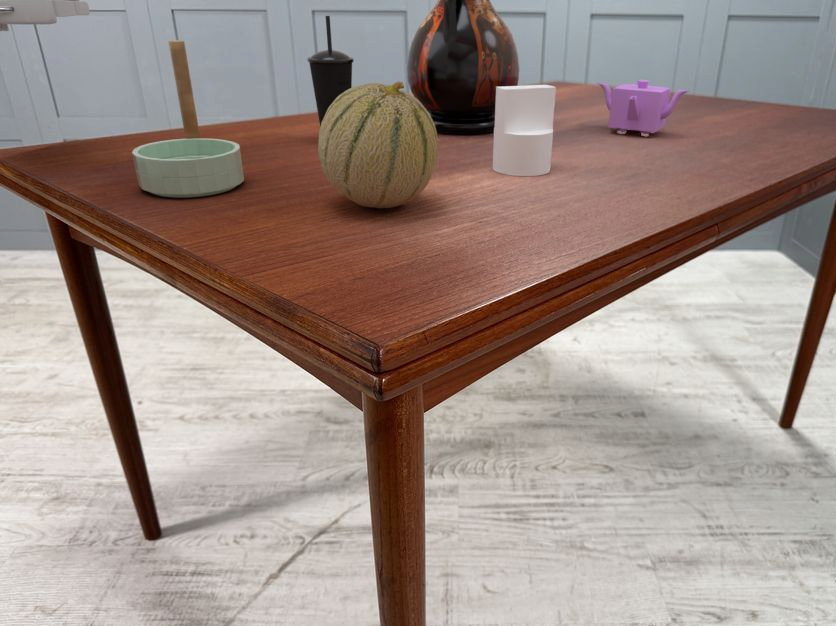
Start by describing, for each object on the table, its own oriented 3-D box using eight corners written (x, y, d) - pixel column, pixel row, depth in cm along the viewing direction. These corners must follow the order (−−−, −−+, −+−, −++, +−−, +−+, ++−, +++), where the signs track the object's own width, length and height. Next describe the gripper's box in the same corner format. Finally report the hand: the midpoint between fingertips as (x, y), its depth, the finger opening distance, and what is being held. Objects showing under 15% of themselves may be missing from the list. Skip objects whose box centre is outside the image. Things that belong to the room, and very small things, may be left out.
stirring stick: (185, 144, 114) (167, 41, 106) (186, 141, 116) (168, 40, 108) (200, 143, 115) (183, 41, 107) (201, 140, 117) (184, 40, 109)
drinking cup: (336, 135, 123) (328, 14, 114) (366, 141, 119) (360, 16, 110) (305, 141, 118) (293, 15, 108) (336, 148, 114) (327, 17, 104)
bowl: (135, 202, 84) (126, 162, 82) (145, 176, 95) (138, 140, 93) (246, 195, 88) (240, 157, 85) (243, 171, 99) (238, 136, 96)
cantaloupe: (329, 189, 91) (319, 71, 84) (436, 189, 92) (436, 73, 85) (315, 223, 78) (303, 88, 71) (440, 223, 79) (440, 89, 72)
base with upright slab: (509, 178, 99) (514, 92, 93) (482, 164, 106) (485, 84, 100) (561, 173, 102) (568, 90, 96) (531, 160, 109) (537, 82, 103)
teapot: (580, 133, 130) (586, 80, 125) (600, 123, 140) (606, 73, 135) (674, 144, 123) (683, 88, 118) (687, 133, 133) (697, 80, 128)
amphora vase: (428, 115, 144) (427, -34, 130) (525, 122, 139) (535, -33, 126) (391, 133, 126) (386, -38, 112) (502, 142, 121) (510, -36, 107)
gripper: (-36, -19, 84) (87, -17, 90) (-33, -21, 99) (72, -19, 105) (-19, 36, 87) (98, 35, 93) (-19, 27, 102) (82, 26, 108)
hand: (84, 6), depth 99 cm, fingers open, 8 cm apart
